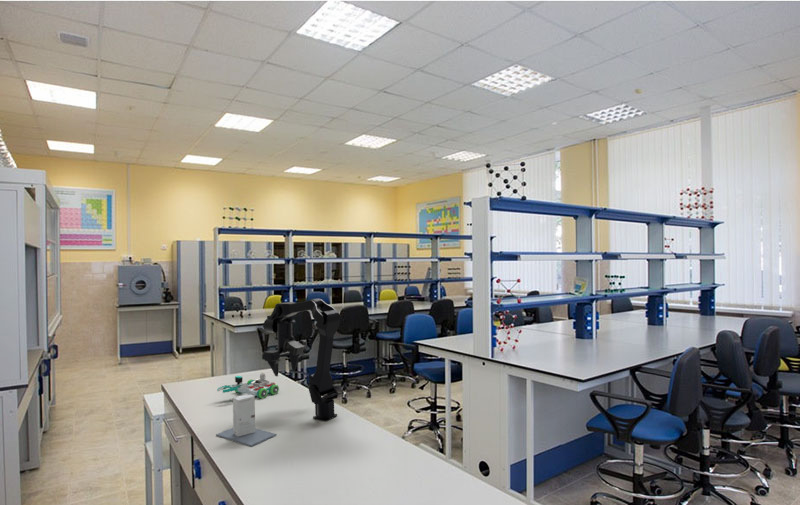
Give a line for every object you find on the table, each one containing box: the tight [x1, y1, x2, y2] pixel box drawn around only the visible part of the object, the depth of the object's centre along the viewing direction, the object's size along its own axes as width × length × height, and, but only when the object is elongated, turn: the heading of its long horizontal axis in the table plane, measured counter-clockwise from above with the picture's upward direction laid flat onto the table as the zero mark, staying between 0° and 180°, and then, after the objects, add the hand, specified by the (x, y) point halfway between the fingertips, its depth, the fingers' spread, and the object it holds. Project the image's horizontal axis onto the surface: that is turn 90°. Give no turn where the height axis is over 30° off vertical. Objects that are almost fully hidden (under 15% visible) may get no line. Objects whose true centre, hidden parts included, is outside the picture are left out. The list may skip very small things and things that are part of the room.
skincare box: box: [232, 393, 256, 437], centre depth 149 cm, size 6×4×12 cm
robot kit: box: [217, 372, 280, 399], centre depth 193 cm, size 19×25×9 cm
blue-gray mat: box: [215, 427, 277, 447], centre depth 148 cm, size 18×10×1 cm, turn 57°
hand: (285, 373), depth 176 cm, fingers open, 9 cm apart
